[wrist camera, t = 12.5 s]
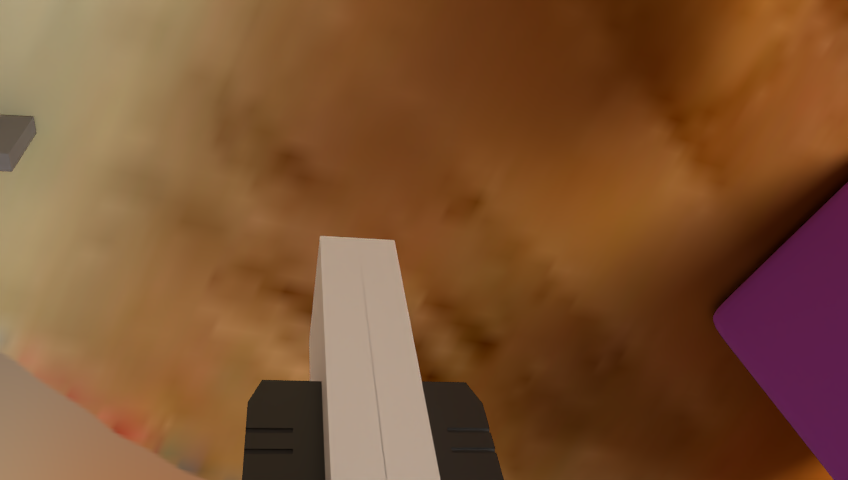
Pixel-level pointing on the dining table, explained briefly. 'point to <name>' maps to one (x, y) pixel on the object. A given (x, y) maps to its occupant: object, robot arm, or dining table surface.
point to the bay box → (14, 139)
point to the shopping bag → (800, 331)
